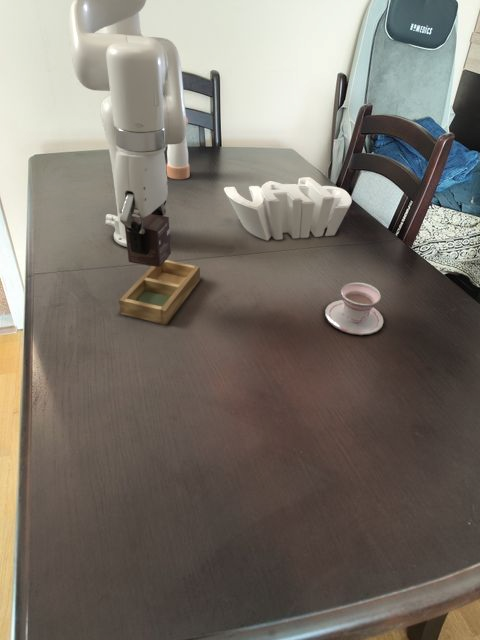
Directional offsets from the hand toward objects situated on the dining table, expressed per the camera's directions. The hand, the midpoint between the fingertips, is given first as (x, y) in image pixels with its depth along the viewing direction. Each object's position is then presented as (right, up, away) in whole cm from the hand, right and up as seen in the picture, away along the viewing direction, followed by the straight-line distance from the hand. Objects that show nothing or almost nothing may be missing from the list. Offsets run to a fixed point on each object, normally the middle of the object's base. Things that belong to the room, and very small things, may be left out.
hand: (149, 243), depth 83 cm
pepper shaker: (-7, +38, +67) cm, 77 cm away
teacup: (+39, -13, +12) cm, 43 cm away
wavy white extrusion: (+28, +15, +44) cm, 54 cm away
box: (0, -2, +2) cm, 3 cm away
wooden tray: (0, -8, +12) cm, 14 cm away
